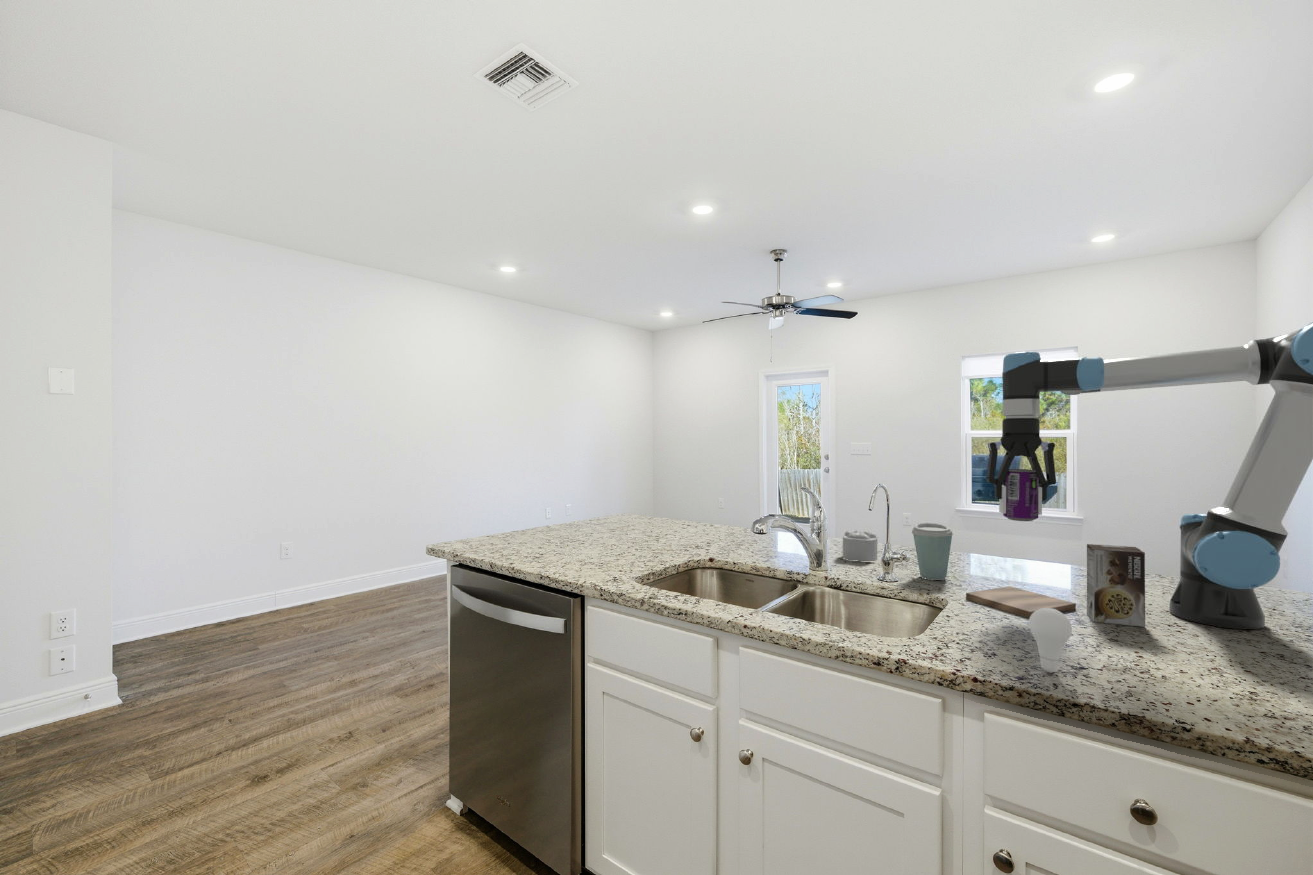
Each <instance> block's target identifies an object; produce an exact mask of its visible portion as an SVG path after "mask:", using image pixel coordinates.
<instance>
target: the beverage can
mask: <svg viewBox="0 0 1313 875" xmlns="http://www.w3.org/2000/svg"><path fill="white" fill-rule="evenodd" d="M1003 486H1006V514H1004V513H1002V515H1003V516H1004V517H1005V518H1006V519H1008V520H1011V521H1017V522H1033V521H1035V520H1037V519H1039V515H1038V487H1039V478H1038V476H1037V474H1036V470H1032V469H1028V468H1023V469H1022V468H1009V470H1008V472H1007V475H1006V477H1005V480H1004V482H1003Z"/></svg>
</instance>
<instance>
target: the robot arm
mask: <svg viewBox="0 0 1313 875" xmlns="http://www.w3.org/2000/svg"><path fill="white" fill-rule="evenodd" d="M1002 363H1003V364H1002V373H1001V374H1002V376H1001V378H1002V416H1003V417H1004V418H1003V419H1002V423H1001V424H1002V428H1001V429H1002V430H1001V431H1002V434H1001V438H1000V440H997V441H990V442H988V443H987V448H988V452H989V453H988V461H987V469H986V476H985V479H986V482H987V483H989V484H992V485H993V486H994V497H995V500H998V501H999V502H998V506H999V508H998V509H999V513H1000V514H1003V513H1004V514H1006V486H1004V480H1005V477H1006V475H1007V472H1008V470H1009V469H1011V468H1010V467H1011V465H1012V462H1013V461H1014V460H1015V457H1026V459H1027V460H1028V462H1029V465H1030V467H1031V470H1036V474H1037V476H1038V478H1039V487H1038V516H1042V515H1043V501H1046V500H1047V495H1048V494H1047V490H1048V489H1047V488H1049V486H1052V485H1056V484H1057V475H1056V468H1055V459H1054V450H1055V448H1056V444H1055V442H1050V441H1049V442H1048V441H1044V440H1042V438H1041V436H1040V430H1041V429H1040V428H1041V427H1040V425H1041V424H1040V423H1041V422H1040V419H1039V418H1038V416H1041V415H1040V412H1041V410H1040V408H1041V407H1040V406H1041V405H1040V404H1041V402H1040V401H1041V400H1040V398H1041V397H1040V393H1042V392H1043V393H1048V392H1051V393H1052V392H1060V393H1062V394H1063V395H1067V396H1076V395H1080V394H1089V393H1100V392H1114V391H1126V390H1139V389H1140V390H1141V389H1153V388H1164V387H1165V388H1166V387H1179V386H1192V385H1193V386H1194V385H1204V384H1205V385H1207V384H1219V383H1233V382H1235V383H1236V382H1248V383H1249V384H1251V385H1252V386H1256V385H1270V386H1271V387H1272V389H1273V391H1274V392H1275V393H1274V396H1273V398H1272V399H1271V402H1270V403H1269V406H1268V408H1267V410H1266V412H1265V415H1264V416H1263V419H1262V420H1261V422H1260V425H1259V427H1258V429H1257V431H1256V433H1255V436H1254V438H1253V439H1252V441H1251V444H1250V446H1249V448H1248V450H1247V452H1246V454H1245V456H1244V459H1243V460H1242V463H1241V465H1240V467H1239V469H1238V471H1237V473H1236V475H1235V477H1234V480H1233V482H1232V483H1231V486H1230V487H1229V490H1228V493H1227V494H1226V496H1225V498H1224V500H1223V503H1222V504H1221V505H1220V506H1217V507H1213V508H1209V509H1208V510H1207V513H1206V514H1198V513H1197V514H1196V513H1186V514H1184V515H1182V516H1181V518H1180V520H1181V521H1180V524H1179V530H1180V559H1179V560H1180V561H1179V563H1180V564H1179V568H1180V569H1179V570H1180V572H1179V575H1180V576H1179V577H1180V578H1179V581H1178V583H1177V585H1176V588H1174V589H1175V590H1174V591H1173V594H1172V596H1171V598H1170V600H1169V609H1168V610H1169V613H1171V614H1172V615H1174V616H1177V617H1178V618H1181V619H1183V620H1187V621H1191V622H1195V623H1198V622H1199V624H1203V625H1207V624H1208V626H1213V627H1218V626H1219V628H1225V629H1227V628H1228V629H1233V628H1234V629H1235V630H1246V629H1255V630H1261V629H1260V628H1262V629H1264V628H1265V627H1266V616H1265V614H1264V611H1263V608H1262V607H1261V604H1260V602H1259V600H1258V597H1257V594H1256V592H1255V589H1256V588H1259V587H1262V586H1264V585H1267V584H1268V583H1269V582H1271V581H1272V580H1273V579H1275V577H1277V575H1278V573H1279V571H1280V567H1281V557H1280V551H1281V549H1282V547H1283V545H1284V543H1285V541H1286V540H1287V537H1288V535H1289V532H1288V531H1287V530H1286V528H1285V526H1284V525H1283V519H1284V517H1285V516H1286V513H1287V511H1288V510H1289V508H1290V505H1291V504H1292V501H1293V500H1294V498H1295V495H1296V493H1297V491H1298V490H1299V488H1300V486H1301V484H1302V481H1303V480H1304V477H1305V475H1306V474H1307V472H1308V469H1309V467H1310V466H1311V463H1313V462H1312V461H1313V321H1312V322H1310V323H1308V324H1306V325H1305V326H1303V327H1302V328H1300V329H1297V330H1295V331H1291V332H1289V333H1285V334H1283V335H1277V336H1273V337H1266V338H1262V339H1253V340H1249V341H1248V342H1247V343H1246V344H1244V345H1240V346H1239V345H1238V346H1232V347H1231V346H1230V347H1221V348H1212V349H1201V350H1191V351H1185V352H1184V351H1182V352H1174V353H1173V352H1171V353H1166V354H1165V353H1162V354H1151V355H1144V356H1136V357H1135V356H1134V357H1124V358H1115V359H1105V360H1104V359H1103V358H1102V357H1100V356H1095V357H1094V356H1091V357H1089V356H1083V357H1073V358H1069V357H1068V358H1060V359H1059V358H1058V359H1042V358H1041V354H1040V353H1039V352H1037V351H1019V352H1011V353H1008V354H1006V355H1005V356H1004V357H1003V362H1002ZM1001 446H1002V448H1003V449H1004V450H1005V453H1004V456H1003V460H1002V463H1001V465H1000V468H999V470H998V473H997V475H996V472H997V464H998V462H997V461H998V453H999V450H1000V448H1001ZM1040 446H1041V450H1042V451H1043V461H1044V470H1045V474H1044V472H1043V470H1042V467H1041V465H1040V462H1039V459H1038V456H1037V453H1036V451H1037V450H1038V448H1040Z"/></svg>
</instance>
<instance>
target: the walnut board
mask: <svg viewBox="0 0 1313 875" xmlns="http://www.w3.org/2000/svg"><path fill="white" fill-rule="evenodd" d="M965 599H966V600H968V601H970V602H971V601H972V602H974V603H978V604H981V605H984V606H987V607H990V608H995V609H997V610H1001V611H1005V612H1008V613H1011V614H1014V615H1017V616H1021V617H1024V618H1028V619H1030V616H1031V615H1032V614H1033V613H1034V612H1035V611H1036V610H1038V609H1041V608H1052V609H1055V610H1058V611H1060V612H1061V613H1067V612H1071V611H1076V608H1077V607H1076V606H1077V605H1076V604H1077V603H1076V602H1071V601H1068V600H1064V599H1061V598H1057V597H1054V596H1048V595H1046V594H1042V593H1037V592H1033V591H1030V590H1026V589H1022V588H1018V587H1014V586H1010V585H1009V586H1002V587H995V588H989V589H984V590H975V591H970V592H966V593H965Z"/></svg>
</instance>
